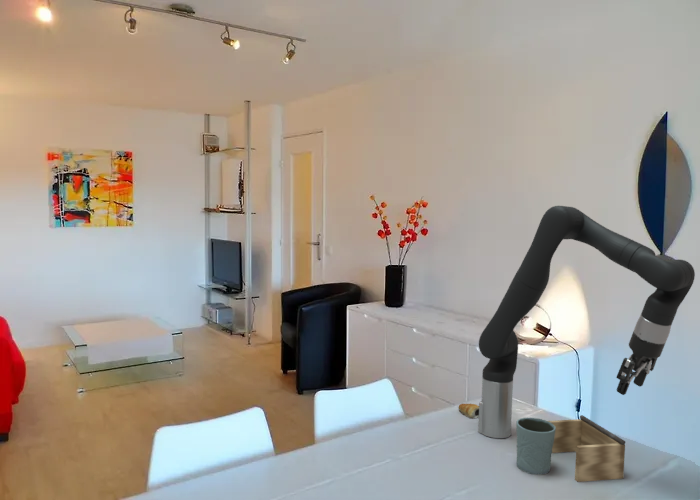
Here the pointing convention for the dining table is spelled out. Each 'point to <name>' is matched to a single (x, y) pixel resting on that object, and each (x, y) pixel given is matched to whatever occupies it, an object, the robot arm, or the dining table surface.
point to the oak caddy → (590, 449)
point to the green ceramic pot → (534, 445)
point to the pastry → (469, 410)
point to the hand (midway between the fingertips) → (629, 388)
